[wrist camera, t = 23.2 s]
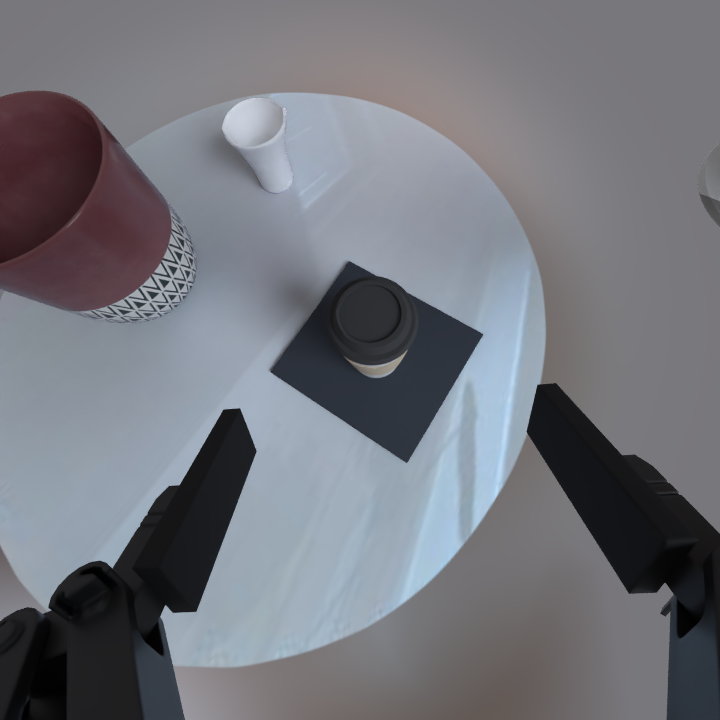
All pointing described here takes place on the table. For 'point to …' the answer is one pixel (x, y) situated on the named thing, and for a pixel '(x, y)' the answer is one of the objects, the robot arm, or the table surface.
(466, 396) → the table surface
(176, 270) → the planter
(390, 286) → the coffee cup
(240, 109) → the cup
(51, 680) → the robot arm
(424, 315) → the mat
